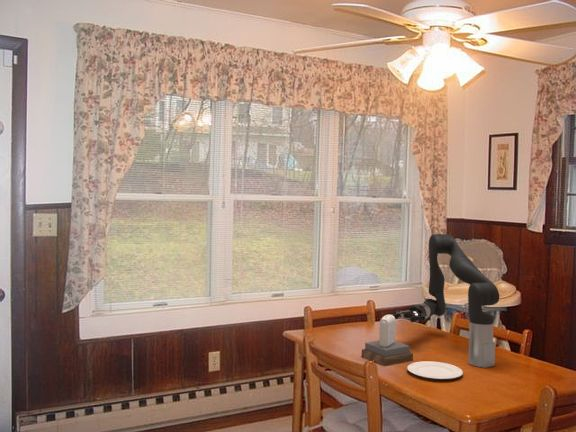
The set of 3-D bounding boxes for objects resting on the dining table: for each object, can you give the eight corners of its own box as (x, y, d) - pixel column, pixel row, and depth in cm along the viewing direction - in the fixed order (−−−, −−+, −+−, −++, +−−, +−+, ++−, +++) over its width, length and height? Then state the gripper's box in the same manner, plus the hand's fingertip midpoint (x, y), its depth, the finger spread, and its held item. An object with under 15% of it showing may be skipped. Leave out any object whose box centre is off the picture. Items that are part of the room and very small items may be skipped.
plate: (468, 371, 218) (468, 366, 218) (455, 387, 200) (455, 381, 200) (416, 362, 229) (416, 358, 229) (399, 377, 211) (399, 372, 211)
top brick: (409, 353, 231) (409, 345, 231) (385, 357, 224) (385, 350, 224) (388, 345, 242) (388, 338, 242) (365, 349, 235) (365, 342, 235)
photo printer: (386, 340, 239) (387, 312, 238) (396, 342, 237) (396, 313, 236) (377, 346, 230) (378, 316, 229) (387, 347, 228) (388, 318, 227)
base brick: (412, 360, 231) (413, 353, 231) (385, 366, 223) (385, 358, 223) (388, 351, 244) (388, 344, 244) (361, 356, 236) (361, 349, 236)
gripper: (405, 302, 260) (388, 307, 247) (433, 306, 251) (417, 312, 239) (404, 318, 260) (387, 324, 248) (433, 322, 251) (417, 329, 239)
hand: (402, 318), depth 243 cm, fingers open, 8 cm apart
